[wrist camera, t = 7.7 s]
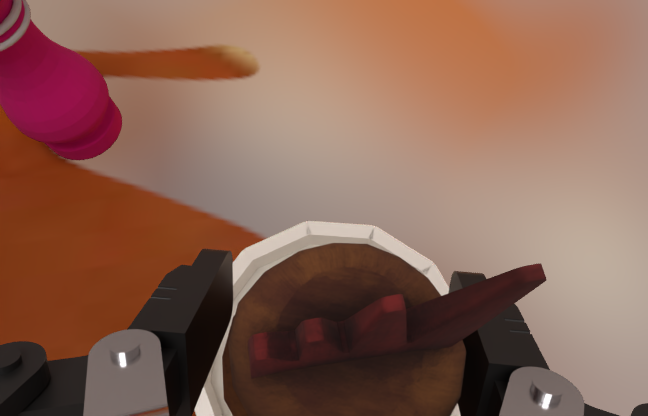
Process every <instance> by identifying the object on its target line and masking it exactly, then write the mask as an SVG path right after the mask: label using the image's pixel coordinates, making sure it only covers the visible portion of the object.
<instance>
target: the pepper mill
mask: <svg viewBox="0 0 648 416" xmlns="http://www.w3.org/2000/svg"><path fill="white" fill-rule="evenodd" d="M30 17H31V12H30V8H29V5H28V3H27V2H26V0H0V104H1V106H2V108H3V109H4V111H5V113H6V115H7V116H8V118H9V119H10V120H11V122H12V123H13V124H14V125H15V126H16V127H17V128H18V129H19V130H20V131H21V132H22V133H23V134H25V135H27V136H28V137H30V138H32V139H35V140H37V141H40V142H44V143H45V144H46V145H47V146H49V147H50V148H51V149H52V150H53V151H54V152H55V153H57V154H58V155H59V156H62V157H64V158H66V159H71V160H84V159H89V158H93V157H96V156H98V155H100V154H102V153H103V152H105V151H106V150H107V149H108V148H110V147H111V146H112V144H113V143H114V142H115V141H116V140H117V138H118V135H119V133H120V131H121V127H122V117H121V113H120V111H119V109H118V107H117V106H116V105H115V103H114V102H113V101H112V99H111V98H110V97H109V93H108V88H107V84H106V82H105V80H104V78H103V76H102V75H101V74H100V73H99V71H98V70H97V69H96V68H95V67H94V66H93V65H92V64H91V63H90V62H89V61H88V60H87V59H85V58H84V57H82V56H81V55H79V54H78V53H76V52H74V51H72V50H70V49H67V48H65V47H63V46H60V45H59V44H57V43H55V42H53V41H51V40H50V39H49V38H48V37H46V36H45V35H44V34H43V33H42V32H41V31H40V30H39V29H38V28H37V27H36V26H35V25H34V24H33V22H32V21H31V19H30Z"/></svg>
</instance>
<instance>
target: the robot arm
mask: <svg viewBox="0 0 648 416" xmlns="http://www.w3.org/2000/svg"><path fill="white" fill-rule="evenodd" d="M483 280H486V277H485V276H484V274H482V273H470V272H458V271H454V272H453V274H452V277H451V282H450V287H449V292H448V293H451V292H454V291H456V290H459V289H462V288H464V287H467V286H470V285H473V284H475V283H478V282H481V281H483ZM232 310H233V261H232V253H231V251H224V250H212V249H202V251H201V252H200V253H199V255H198V257H197V258H196V260H195V261H194V263H193V264H192V266H187V265H181V266H179V267H177V268H176V269H174V270H173V271H171V272H170V273H168V274H166V276H165V277H164V279H163V280H162V281H161V283H160V284H159V286H158V289H156V290H155V291H154V293H153V294H152V296H151V298H149V300H148V301H147V303H146V304H145V305H144V307H143V308H142V310H141V311H140V312H139V314H138V315H137V317H136V318H135V319H134V321H133V322H132V324H131V325H130V326H129V328H128V329H127V330H123V331H118V332H115V333H112V334H110V335H108V336H106V337H104V338H102V339H101V340H100V341H98V342H97V343H96V344H95V345H94V346H93V347H92V349H91V350H90V352H89V355H87V356H82V357H75V358H68V359H60V360H53V361H47V357H46V352H45V350H44V348H43V347H42V346H40V345H38V344H36V343H33V342H12V343H7V344H3V345H0V416H192V414H193V411H194V409H195V407H196V404H197V402H198V399H199V397H200V394H201V392H202V389H203V387H204V384H205V382H206V380H207V377H208V375H209V372H210V370H211V367H212V365H213V362H214V360H215V357H216V355H217V353H218V350H219V348H220V345H221V343H222V340H223V338H224V335H225V333H226V330H227V328H228V326H229V323H230V320H231V316H232ZM463 343H464V346H465V348H466V360H465V368H464V376H463V383H462V391H461V397H460V399H459V401H458V407H459V411H460V415H461V416H619V415H616V414H612V413H609V412H606V411H603V410H600V409H597V408H594V407H592V406H589V405H587V404H585V403H584V400H583V397H582V395H581V394H580V392H579V390H578V389H577V388H576V387H575V386H574V385H573V384H572V383H571V382H570V381H568V380H567V379H566V378H564V377H563V376H561V375H559V374H557V373H555V372H553V371H550V369H549V367H548V365H547V363H546V361H545V360H544V358H543V356H542V354H541V352H540V350H539V348H538V346H537V344H536V342H535V340H534V338H533V336H532V334H530V330H529V328H528V326H527V324H526V323H524V319H523V317H522V315H521V313H520V311H519V309H518V307H517V306H516V305H515V304H513V305H511V306H510V307H508V308H507V309H505V310H504V311H503V312H501V313H500V314H498V315H497V316H496V317H494V318H493V319H491V320H490V321H489V322H487V323H486V324H484V325H483V326H482V327H480V328H479V329H477V330H476V331H475V332H473V333H472V334H470V335H469V336H467V337H466V338H464V339H463ZM631 416H648V403H647V404H641V405H638V406H637V407H635V408H634V410H633V411H632V414H631Z"/></svg>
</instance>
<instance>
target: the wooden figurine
mask: <svg viewBox="0 0 648 416" xmlns="http://www.w3.org/2000/svg"><path fill="white" fill-rule="evenodd" d="M545 281H546V277H545V274H544V271H543V268H542V265H541V264H534V265H528V266H524V267H520V268H516V269H513V270H511V271H508V272H505V273H503V274H500V275H497V276H494V277H492V278H489V279H486V280H483V281H481V282H478V283H475V284H473V285H470V286H467V287H464V288H462V289H459V290H456V291H454V292H451V293H448V294H445V295H443V296H441V295H440V293H439V292H438V291H437V289H436V288H435V287H434V285H433V284H432V283H431V281H430V280H429V279H428V277H426V276H425V275H423V274H422V273H421V272H419V271H418V270H417V269H415V268H414V267H413V266H411V265H410V264H408V263H407V262H406V261H404V260H403V259H402V258H400V257H399V256H396V255H394V254H391V253H389V252H386V251H384V250H381V249H379V248H376V247H374V246H371V245H369V244H357V243H330V244H326V245H322V246H317V247H313V248H309V249H305V250H301V251H298V252H297V253H295V254H293V255H292V256H290V257H288V258H287V259H285V260H283V261H282V262H280V263H278V264H277V265H275V266H273V267H272V268H270V269H268V270H267V271H265V272H264V273H263V274H262V275H261V277H260V278H259V279H258V280H257V281H256V282H255V284H254V285H253V286H252V287H251V288H250V289H249V291H248V292H247V293H246V294H245V295H244V296H243V298H242V299H241V300H240V301H239V302H238V305H237V309H236V313H235V315H234V317H233V319H232V323H231V327H230V330H229V334H228V337H227V341H226V345H225V348H224V352H223V355H222V368H223V392H224V400H225V402H226V404H227V406H228V408H229V409H230V411H231V413H232V415H233V416H450V415H451V413H452V411H453V410H454V408H455V406H456V404H457V403H458V401H459V399H460V397H461V391H462V383H463V376H464V368H465V360H466V348H465V346H464V343H463V339H464V338H466V337H467V336H469V335H470V334H472V333H473V332H475V331H476V330H477V329H479V328H480V327H482V326H483V325H484V324H486V323H487V322H489V321H490V320H491V319H493V318H494V317H496V316H497V315H498V314H500V313H501V312H503V311H504V310H505V309H507V308H508V307H510V306H511V305H513V304H514V303H515V302H517V301H518V300H520V299H521V298H522V297H524V296H525V295H527V294H528V293H529V292H531V291H532V290H534V289H535V288H536V287H538V286H539V285H540V284H542V283H543V282H545Z"/></svg>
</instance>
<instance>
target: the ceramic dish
mask: <svg viewBox="0 0 648 416" xmlns="http://www.w3.org/2000/svg"><path fill="white" fill-rule="evenodd" d="M330 243H357V244H369V245H371V246H374V247H376V248H379V249H381V250H384V251H386V252H389V253H391V254H394V255H396V256H399V257H400V258H402V259H403V260H404V261H406V262H407V263H408V264H410V265H411V266H413V267H414V268H415V269H417V270H418V271H419V272H421V273H422V274H423V275H425V276H426V277H428V279H429V280H430V281H431V283H432V284H433V285H434V287H435V288H436V289H437V291H438V292H439V293H440V295H441V296H443V295H445V294H448V292H449V287H448V285H447V284H446V282H445V280H444V278H443V277H442V275H441V274H440V271H439V270H438V268H437V266H436V265H435V264H433V262H432V261H431V260H429V259H427V258H426V257H424V256H423V255H421V254H419V253H418V252H416V251H415V250H413V249H411V248H410V247H408V246H407V245H405V244H403V243H402V242H400V241H399V240H397V239H395V238H394V237H392V236H391V235H389V234H388V233H386V232H384V231H383V230H381V229H380V228H378V227H376V226H375V227H374V225H361V224H346V223H331V222H317V221H307V223H306V221H305V222H303V223H301V224H298V225H296V226H294V227H292V228H289V229H287V230H285V231H283V232H281V233H278V234H276V235H274V236H272V237H269V238H267V239H265V240H263V241H261V242H258V243H256V244H254V245H252V246H250V247H247V248H245V251H244V250H242V252H241V253H240V254H239V256H238V257H237V258H236V260H235V261H234V262H233V310H232V316H231V320H230V323H229V326H228V328H227V330H226V333H225V335H224V338H223V340H222V343H221V345H220V348H219V350H218V353H217V355H216V357H215V360H214V362H213V365H212V367H211V370H210V372H209V375H208V377H207V380H206V382H205V384H204V387H203V389H202V392H201V394H200V397H199V399H198V402H197V404H196V407H195V409H194V410H195V413H196V416H233V415H232V413H231V411H230V409H229V408H228V406H227V404H226V402H225V400H224V392H223V368H222V355H223V352H224V348H225V345H226V341H227V337H228V334H229V330H230V327H231V323H232V319H233V317H234V315H235V313H236V309H237V305H238V302H239V301H240V300H241V299H242V298H243V296H244V295H245V294H246V293H247V292H248V291H249V289H250V288H251V287H252V286H253V285H254V284H255V282H256V281H257V280H258V279H259V278H260V277H261V275H262V274H263V273H264V272H265V271H267V270H268V269H270V268H272V267H273V266H275V265H277V264H278V263H280V262H282V261H283V260H285V259H287V258H288V257H290V256H292V255H293V254H295V253H297V252H298V251H301V250H305V249H309V248H313V247H317V246H322V245H326V244H330ZM432 264H433V265H432ZM450 416H461V415H460V411H459V407H458V403H457V404H456V406H455V408H454V410H453V411H452V413H451V415H450Z"/></svg>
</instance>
